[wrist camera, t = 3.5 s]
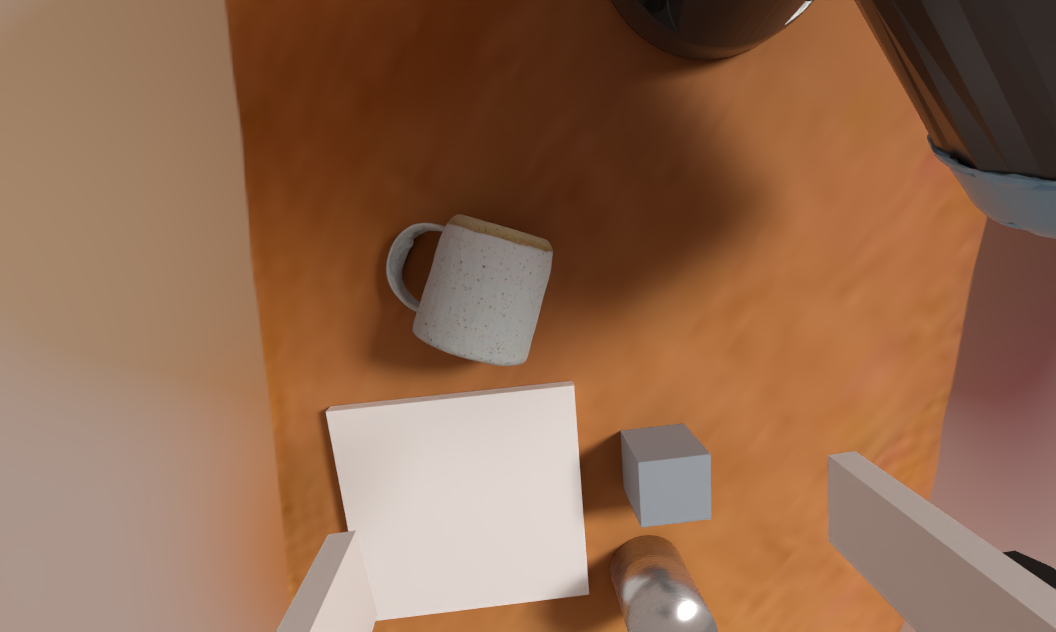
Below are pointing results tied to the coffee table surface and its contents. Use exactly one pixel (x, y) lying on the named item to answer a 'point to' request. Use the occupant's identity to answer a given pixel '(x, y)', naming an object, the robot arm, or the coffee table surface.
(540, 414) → the white thin square slab
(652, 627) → the metal tin
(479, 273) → the ceramic mug
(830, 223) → the coffee table surface
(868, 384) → the coffee table surface
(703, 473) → the slate block
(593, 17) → the coffee table surface
